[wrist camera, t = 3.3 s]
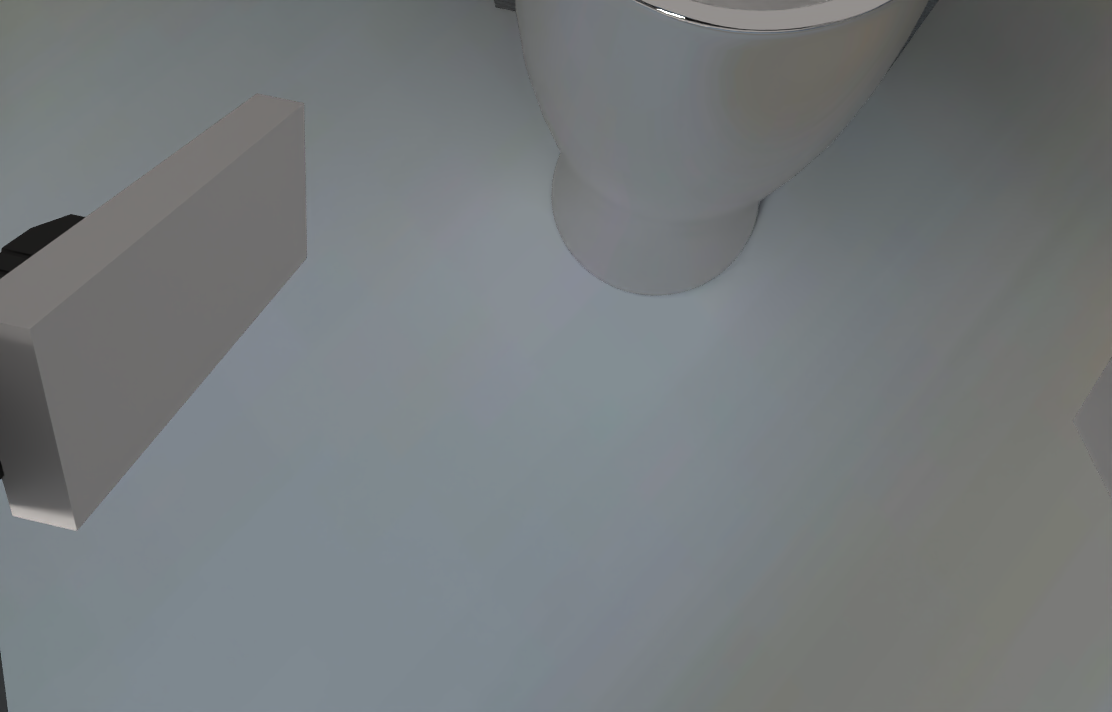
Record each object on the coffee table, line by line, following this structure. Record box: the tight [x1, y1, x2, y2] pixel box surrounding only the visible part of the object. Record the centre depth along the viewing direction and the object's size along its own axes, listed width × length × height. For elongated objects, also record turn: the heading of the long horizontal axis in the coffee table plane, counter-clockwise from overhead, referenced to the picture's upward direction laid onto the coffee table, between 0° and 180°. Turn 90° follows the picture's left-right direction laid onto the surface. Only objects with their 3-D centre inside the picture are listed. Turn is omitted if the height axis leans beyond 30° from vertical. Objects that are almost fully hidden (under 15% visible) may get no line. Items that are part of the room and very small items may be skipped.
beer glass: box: [515, 0, 929, 296], centre depth 19 cm, size 7×7×15 cm
